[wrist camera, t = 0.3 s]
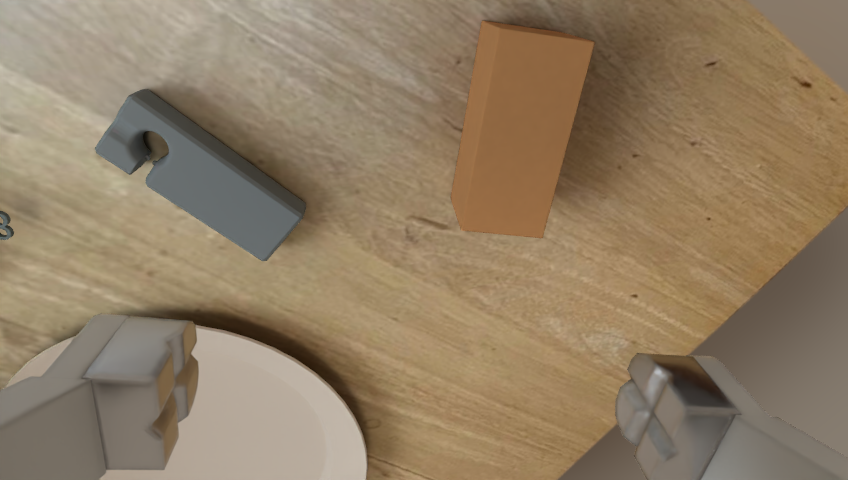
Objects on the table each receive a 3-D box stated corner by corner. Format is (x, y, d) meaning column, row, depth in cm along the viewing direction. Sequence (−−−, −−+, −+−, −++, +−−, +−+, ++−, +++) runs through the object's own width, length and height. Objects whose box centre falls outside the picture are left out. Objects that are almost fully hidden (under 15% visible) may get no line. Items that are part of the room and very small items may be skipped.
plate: (326, 276, 33) (323, 293, 31) (393, 527, 45) (394, 550, 43) (-71, 340, 33) (-96, 361, 31) (100, 575, 45) (89, 600, 43)
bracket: (270, 249, 32) (264, 264, 30) (108, 141, 28) (90, 152, 26) (309, 203, 31) (305, 217, 29) (145, 85, 27) (128, 92, 25)
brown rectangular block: (481, 20, 27) (499, 27, 23) (564, 32, 27) (595, 41, 23) (450, 198, 31) (460, 230, 27) (522, 205, 32) (542, 238, 28)
